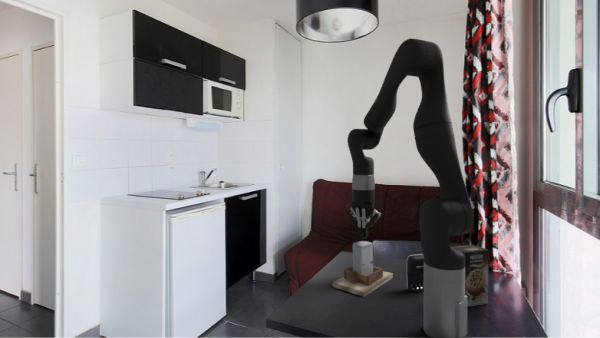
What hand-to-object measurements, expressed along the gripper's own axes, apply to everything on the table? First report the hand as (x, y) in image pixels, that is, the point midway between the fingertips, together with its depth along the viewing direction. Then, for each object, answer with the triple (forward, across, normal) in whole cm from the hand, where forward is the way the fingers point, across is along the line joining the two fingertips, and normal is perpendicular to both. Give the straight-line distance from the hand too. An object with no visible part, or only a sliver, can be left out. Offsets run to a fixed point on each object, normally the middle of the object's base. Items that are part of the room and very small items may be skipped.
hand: (363, 238), depth 110 cm
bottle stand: (+15, 0, 0) cm, 15 cm away
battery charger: (+16, -17, -5) cm, 24 cm away
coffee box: (+15, -31, -7) cm, 35 cm away
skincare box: (+14, 0, 0) cm, 14 cm away
